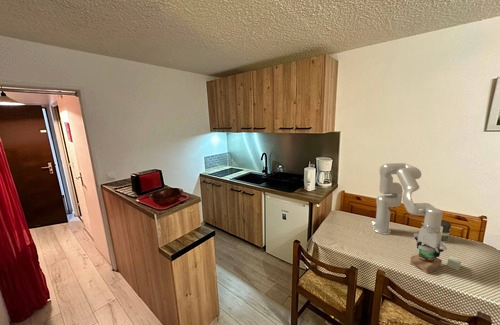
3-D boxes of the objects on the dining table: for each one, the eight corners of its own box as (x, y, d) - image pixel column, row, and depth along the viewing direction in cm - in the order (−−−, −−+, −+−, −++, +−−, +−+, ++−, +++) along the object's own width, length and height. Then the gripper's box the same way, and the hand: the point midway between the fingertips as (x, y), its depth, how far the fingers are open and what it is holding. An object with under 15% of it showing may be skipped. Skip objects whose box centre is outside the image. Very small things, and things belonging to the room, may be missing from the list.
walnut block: (410, 263, 126) (411, 257, 125) (424, 258, 131) (425, 251, 130) (426, 273, 118) (427, 266, 117) (440, 267, 122) (441, 260, 121)
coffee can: (446, 237, 152) (449, 221, 149) (449, 244, 144) (452, 227, 141) (429, 233, 158) (431, 217, 155) (430, 239, 150) (433, 223, 147)
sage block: (446, 265, 123) (448, 259, 122) (448, 262, 126) (450, 255, 125) (458, 270, 119) (459, 263, 118) (459, 267, 122) (461, 260, 121)
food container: (428, 265, 117) (429, 250, 116) (417, 259, 123) (418, 245, 121) (441, 260, 121) (443, 246, 119) (430, 254, 127) (431, 240, 125)
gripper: (411, 222, 126) (408, 245, 129) (445, 236, 110) (440, 262, 113) (419, 220, 128) (415, 243, 132) (453, 233, 112) (448, 259, 116)
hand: (427, 252), depth 122 cm, fingers open, 9 cm apart
